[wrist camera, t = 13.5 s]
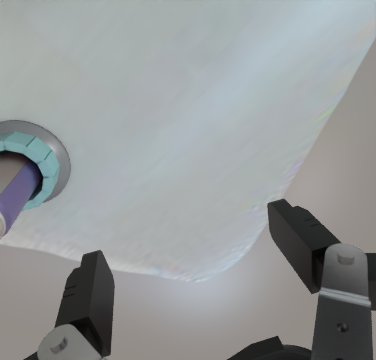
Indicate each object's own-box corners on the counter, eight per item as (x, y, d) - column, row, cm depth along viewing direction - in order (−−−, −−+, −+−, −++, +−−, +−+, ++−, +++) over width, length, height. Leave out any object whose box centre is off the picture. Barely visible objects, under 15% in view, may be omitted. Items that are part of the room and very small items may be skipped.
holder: (-48, 133, 39) (-69, 145, 35) (48, 110, 40) (39, 118, 36) (1, 211, 45) (-13, 229, 41) (83, 189, 46) (78, 205, 42)
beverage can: (54, 165, 42) (19, 222, 29) (28, 191, 44) (-16, 258, 30) (16, 137, 40) (-40, 186, 27) (-10, 166, 41) (-76, 227, 28)
